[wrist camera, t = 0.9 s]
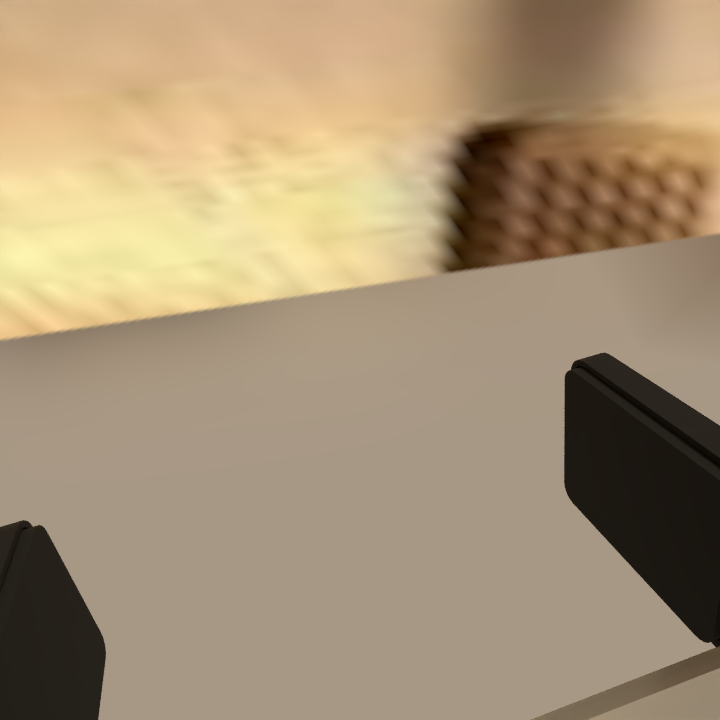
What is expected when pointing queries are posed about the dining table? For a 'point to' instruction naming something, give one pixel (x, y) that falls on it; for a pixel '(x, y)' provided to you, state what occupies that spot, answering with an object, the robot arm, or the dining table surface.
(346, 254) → the dining table surface
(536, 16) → the dining table surface
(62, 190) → the dining table surface
